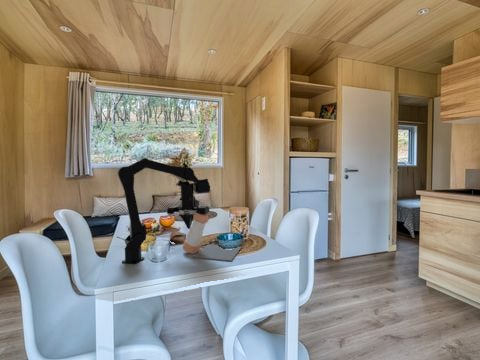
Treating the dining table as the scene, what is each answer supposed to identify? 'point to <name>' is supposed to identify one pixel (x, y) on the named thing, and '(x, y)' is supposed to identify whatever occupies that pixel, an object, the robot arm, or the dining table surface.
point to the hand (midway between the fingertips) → (189, 228)
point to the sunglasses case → (177, 237)
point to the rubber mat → (217, 253)
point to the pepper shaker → (195, 233)
